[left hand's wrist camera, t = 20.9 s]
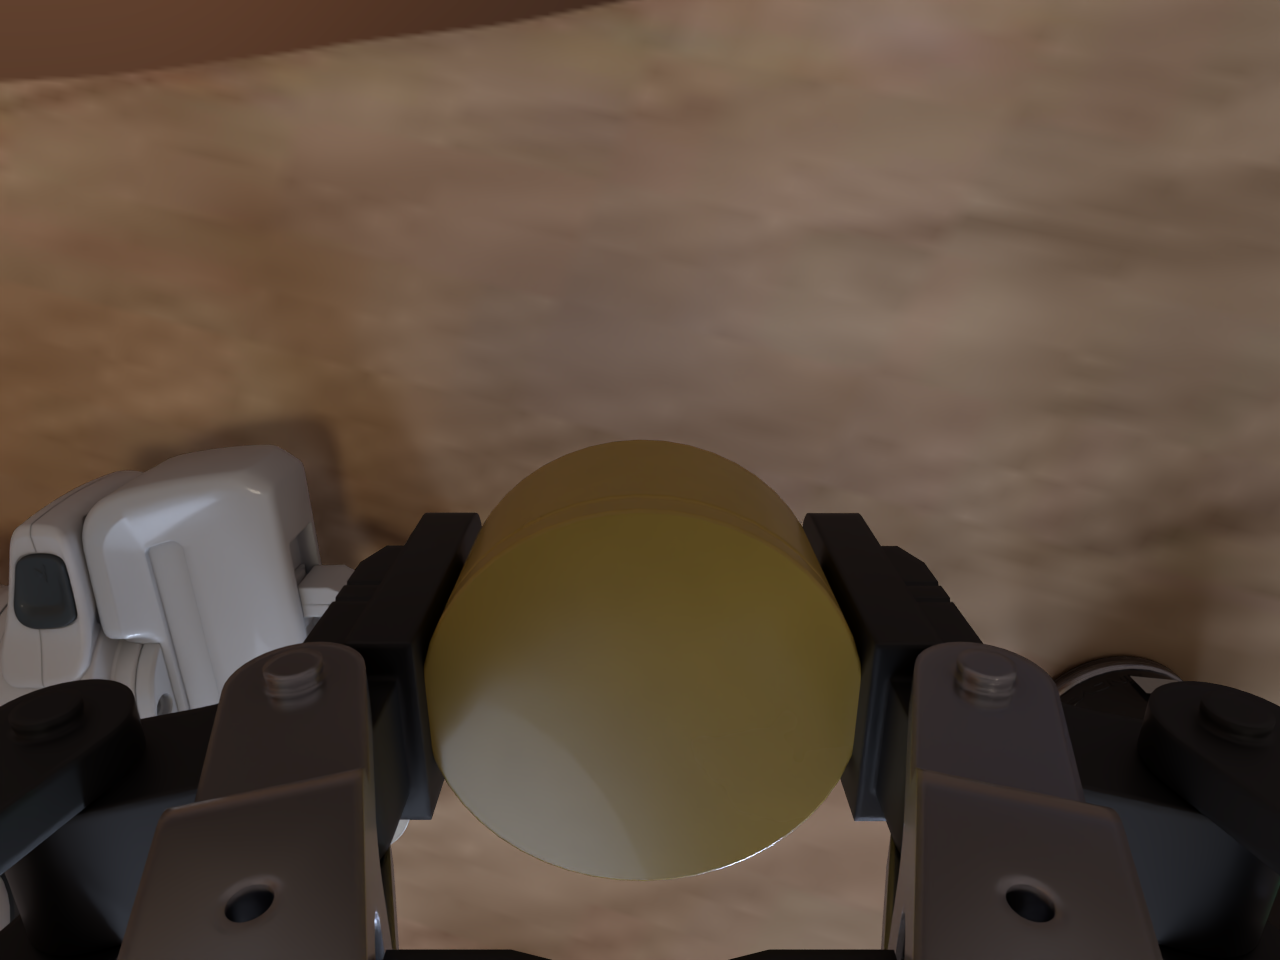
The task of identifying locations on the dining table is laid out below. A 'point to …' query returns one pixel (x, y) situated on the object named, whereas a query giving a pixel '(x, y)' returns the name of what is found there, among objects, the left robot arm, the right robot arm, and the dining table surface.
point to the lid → (642, 666)
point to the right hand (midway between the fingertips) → (431, 667)
